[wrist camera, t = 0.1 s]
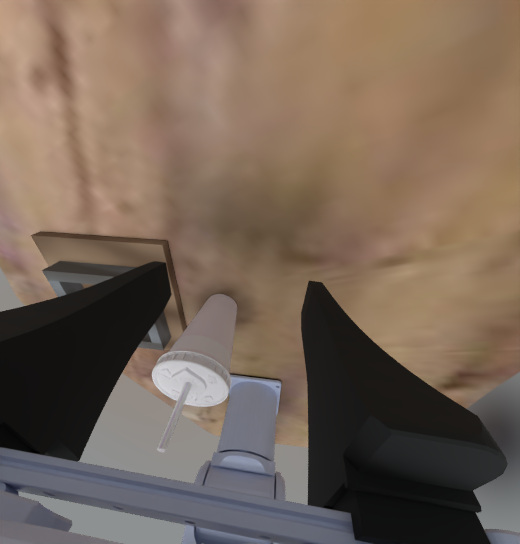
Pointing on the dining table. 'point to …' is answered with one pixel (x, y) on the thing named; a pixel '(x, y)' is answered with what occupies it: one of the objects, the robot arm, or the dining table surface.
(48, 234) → the bottle stand
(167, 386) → the smoothie
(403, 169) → the dining table surface
